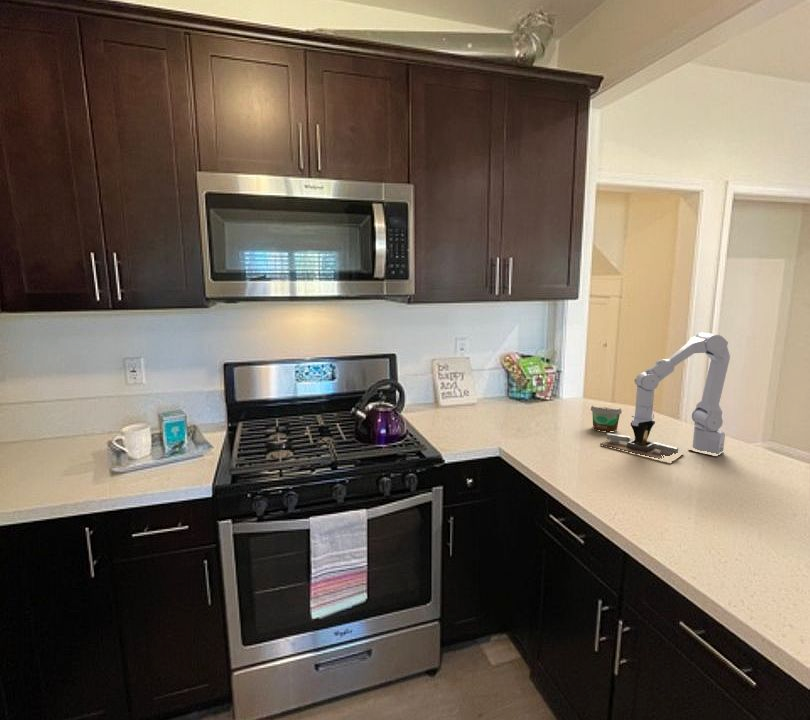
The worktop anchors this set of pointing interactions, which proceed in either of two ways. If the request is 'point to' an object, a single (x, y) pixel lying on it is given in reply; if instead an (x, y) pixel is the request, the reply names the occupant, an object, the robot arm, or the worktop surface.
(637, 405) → the robot arm
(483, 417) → the worktop surface
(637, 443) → the brass coupler
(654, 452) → the stand
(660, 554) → the worktop surface
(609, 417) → the food container
